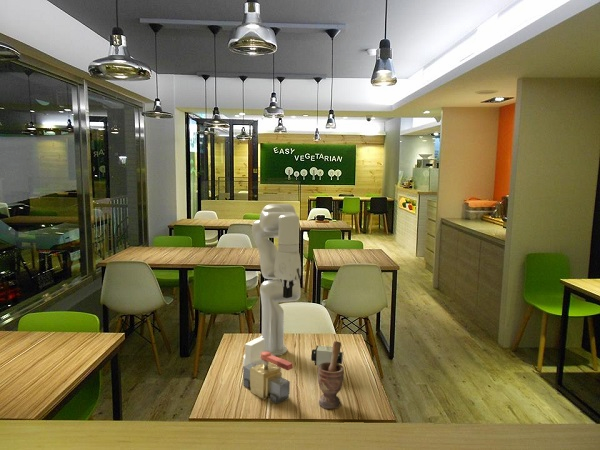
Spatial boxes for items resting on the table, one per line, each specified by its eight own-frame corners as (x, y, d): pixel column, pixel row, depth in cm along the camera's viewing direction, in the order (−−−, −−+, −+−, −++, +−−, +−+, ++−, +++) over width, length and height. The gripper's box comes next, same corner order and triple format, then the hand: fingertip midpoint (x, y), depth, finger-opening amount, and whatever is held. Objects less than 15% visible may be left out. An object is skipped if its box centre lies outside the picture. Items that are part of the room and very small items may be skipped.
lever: (258, 358, 160) (258, 353, 160) (266, 355, 163) (266, 350, 163) (286, 371, 151) (286, 365, 151) (293, 367, 153) (293, 362, 153)
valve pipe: (239, 385, 166) (239, 353, 165) (256, 378, 172) (256, 347, 170) (275, 406, 152) (276, 371, 150) (292, 398, 158) (293, 364, 156)
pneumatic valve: (341, 380, 172) (342, 349, 170) (310, 376, 174) (311, 346, 173) (342, 373, 177) (343, 344, 176) (313, 370, 180) (313, 341, 178)
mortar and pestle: (317, 392, 162) (318, 338, 159) (341, 393, 162) (343, 339, 159) (317, 409, 150) (318, 352, 148) (343, 410, 150) (345, 353, 148)
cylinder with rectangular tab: (256, 377, 173) (257, 347, 171) (238, 371, 177) (238, 342, 176) (270, 369, 180) (271, 340, 179) (252, 363, 185) (253, 335, 183)
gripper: (267, 246, 168) (266, 294, 170) (295, 252, 157) (294, 303, 160) (282, 244, 173) (281, 291, 175) (310, 250, 163) (309, 299, 165)
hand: (287, 297), depth 168 cm, fingers closed
